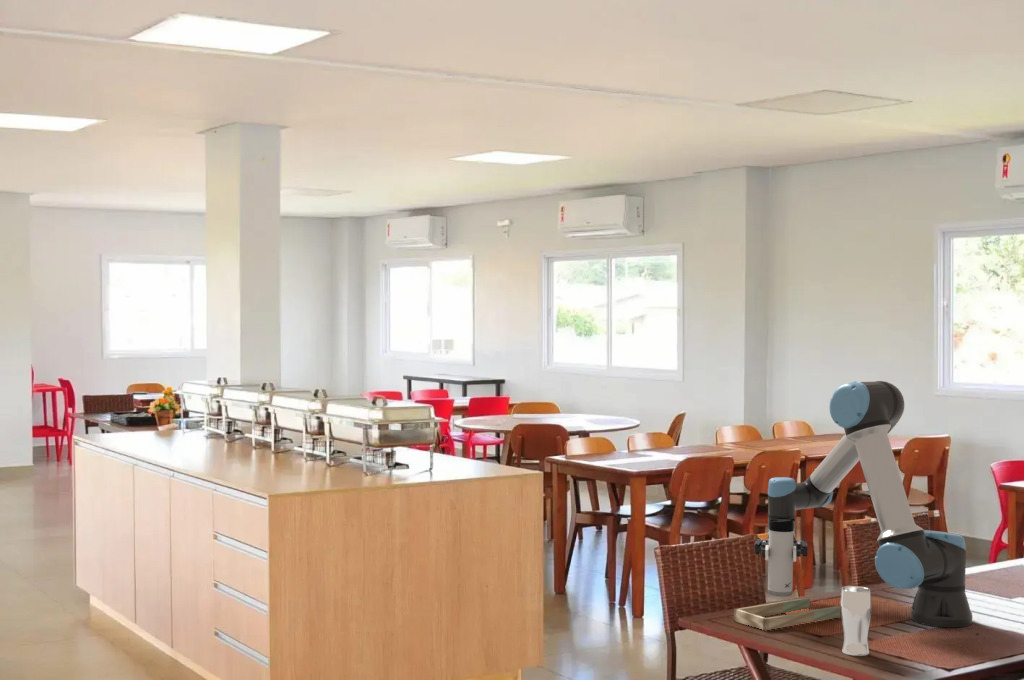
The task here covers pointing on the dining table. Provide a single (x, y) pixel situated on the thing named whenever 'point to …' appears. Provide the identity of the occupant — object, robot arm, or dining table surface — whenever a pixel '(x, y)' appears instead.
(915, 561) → the robot arm
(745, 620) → the bay
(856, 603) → the beer glass
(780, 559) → the travel mug
